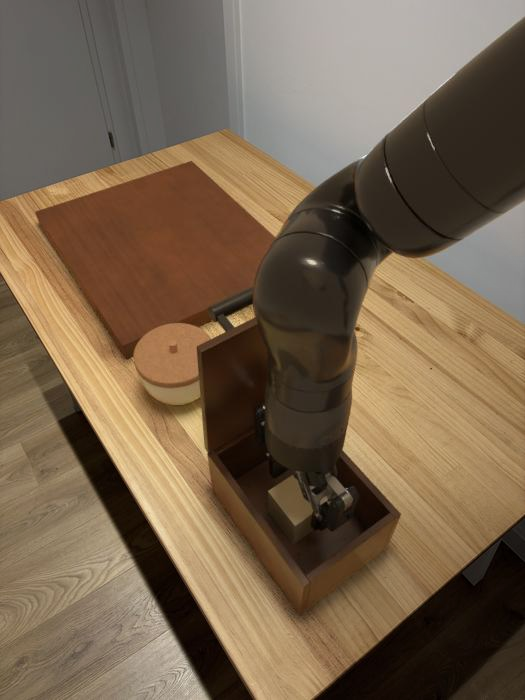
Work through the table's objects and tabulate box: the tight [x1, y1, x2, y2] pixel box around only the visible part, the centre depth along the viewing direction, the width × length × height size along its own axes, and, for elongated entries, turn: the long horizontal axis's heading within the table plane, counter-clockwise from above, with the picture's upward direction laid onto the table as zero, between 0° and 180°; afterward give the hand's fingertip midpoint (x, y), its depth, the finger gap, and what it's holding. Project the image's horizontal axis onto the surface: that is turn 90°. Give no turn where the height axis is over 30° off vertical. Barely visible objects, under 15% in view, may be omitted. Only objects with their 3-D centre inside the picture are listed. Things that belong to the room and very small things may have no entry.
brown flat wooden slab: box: [34, 160, 276, 360], centre depth 98 cm, size 40×3×33 cm
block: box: [268, 475, 328, 544], centre depth 63 cm, size 5×5×5 cm
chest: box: [206, 426, 402, 616], centre depth 62 cm, size 18×13×9 cm
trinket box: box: [132, 323, 212, 406], centre depth 75 cm, size 11×11×9 cm
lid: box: [196, 286, 268, 453], centre depth 57 cm, size 18×13×5 cm
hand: (298, 497), depth 61 cm, fingers open, 7 cm apart
